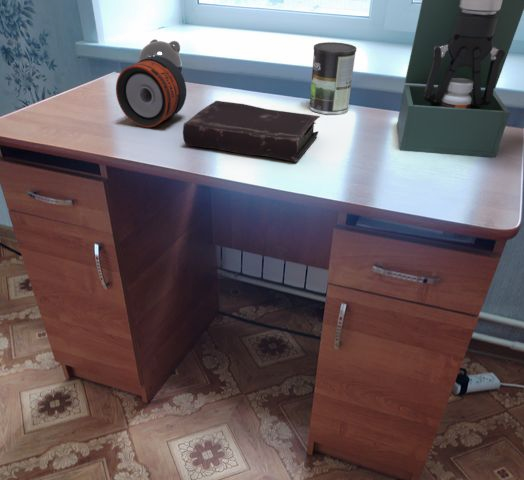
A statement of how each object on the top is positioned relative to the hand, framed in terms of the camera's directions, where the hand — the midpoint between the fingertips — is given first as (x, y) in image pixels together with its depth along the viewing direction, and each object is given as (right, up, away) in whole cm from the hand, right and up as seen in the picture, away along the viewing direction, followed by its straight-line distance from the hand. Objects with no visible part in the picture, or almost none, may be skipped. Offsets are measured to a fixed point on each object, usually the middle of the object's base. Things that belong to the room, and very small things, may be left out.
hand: (447, 136), depth 111 cm
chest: (0, +1, +4) cm, 4 cm away
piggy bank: (-69, +26, +31) cm, 80 cm away
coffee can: (-24, +15, +20) cm, 34 cm away
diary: (-43, -1, 0) cm, 43 cm away
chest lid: (+2, +18, -4) cm, 18 cm away
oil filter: (-66, +8, +10) cm, 67 cm away
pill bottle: (0, 0, 0) cm, 1 cm away
